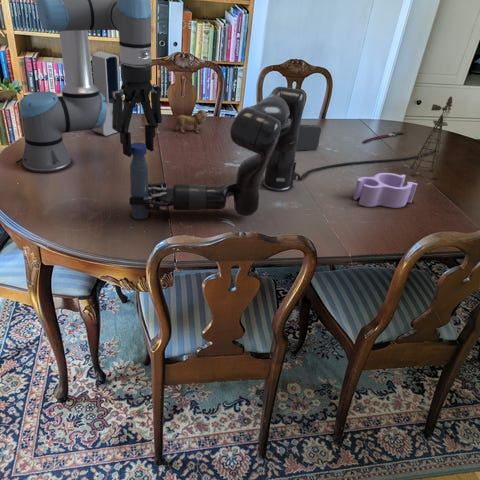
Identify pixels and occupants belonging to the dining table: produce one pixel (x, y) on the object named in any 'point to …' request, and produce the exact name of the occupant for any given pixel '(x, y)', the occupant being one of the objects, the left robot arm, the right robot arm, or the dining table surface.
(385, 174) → the clip
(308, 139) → the handheld gaming console
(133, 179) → the bottle
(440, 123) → the miniature windmill
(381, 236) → the dining table surface
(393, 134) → the sword
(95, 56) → the electronic device
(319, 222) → the dining table surface
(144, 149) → the cap
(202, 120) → the lion figurine
